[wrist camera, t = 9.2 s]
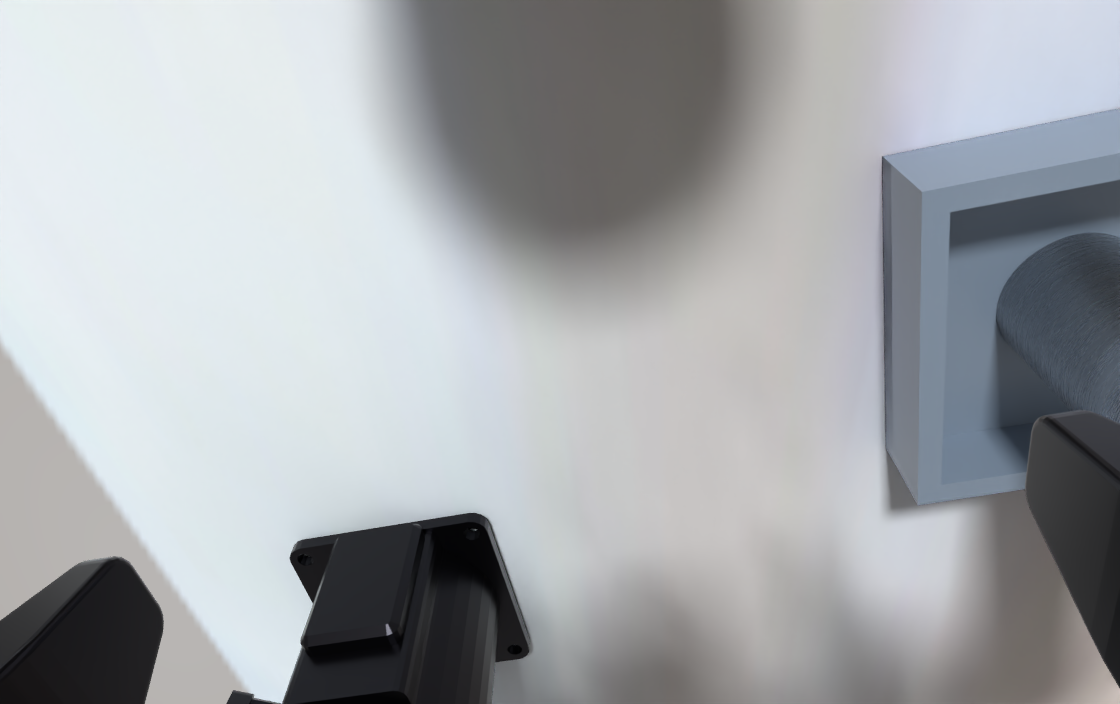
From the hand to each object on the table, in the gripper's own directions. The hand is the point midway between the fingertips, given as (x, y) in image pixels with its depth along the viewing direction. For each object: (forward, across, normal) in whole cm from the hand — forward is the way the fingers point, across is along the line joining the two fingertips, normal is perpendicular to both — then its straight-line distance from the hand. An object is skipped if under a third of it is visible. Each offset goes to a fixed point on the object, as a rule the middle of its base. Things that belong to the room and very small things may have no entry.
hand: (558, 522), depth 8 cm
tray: (+13, -12, +6) cm, 19 cm away
